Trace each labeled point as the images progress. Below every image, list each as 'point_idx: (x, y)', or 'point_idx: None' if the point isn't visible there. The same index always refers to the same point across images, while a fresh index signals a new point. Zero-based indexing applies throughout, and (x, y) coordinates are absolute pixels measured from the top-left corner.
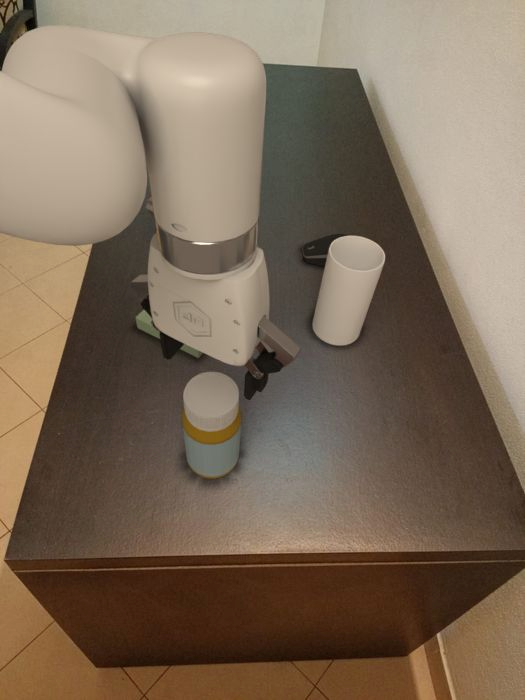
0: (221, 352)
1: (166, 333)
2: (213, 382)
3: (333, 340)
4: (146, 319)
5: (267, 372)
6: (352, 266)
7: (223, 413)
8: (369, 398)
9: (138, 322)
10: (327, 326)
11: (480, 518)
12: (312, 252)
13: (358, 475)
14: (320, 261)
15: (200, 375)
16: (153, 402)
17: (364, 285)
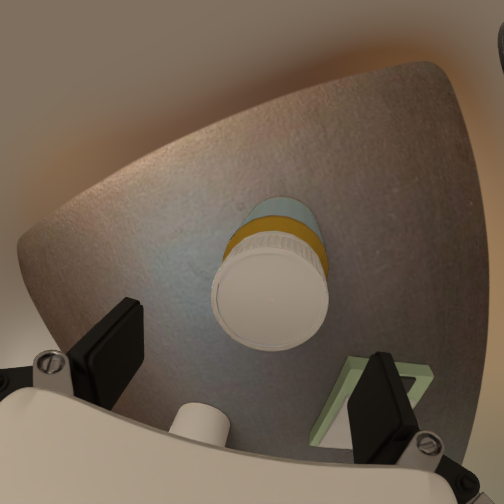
0: (59, 450)
1: (394, 474)
2: (275, 328)
3: (197, 407)
4: (421, 379)
5: (30, 369)
6: None
7: (224, 267)
8: None
9: (429, 372)
10: (202, 423)
11: (33, 253)
12: None
13: (116, 261)
14: None
15: (306, 335)
16: (385, 280)
17: None
